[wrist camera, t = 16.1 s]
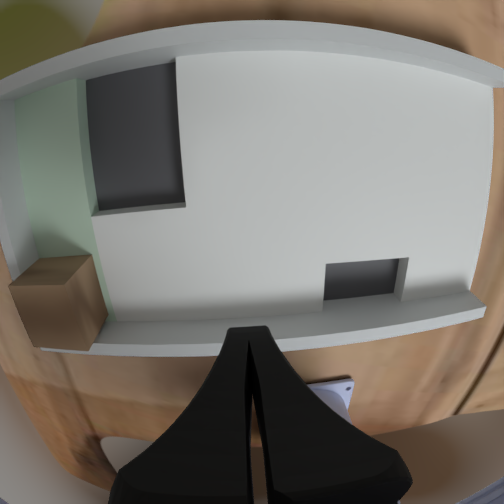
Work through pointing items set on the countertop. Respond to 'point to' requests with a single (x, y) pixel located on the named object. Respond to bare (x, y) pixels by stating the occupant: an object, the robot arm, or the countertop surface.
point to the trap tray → (254, 182)
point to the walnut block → (60, 302)
